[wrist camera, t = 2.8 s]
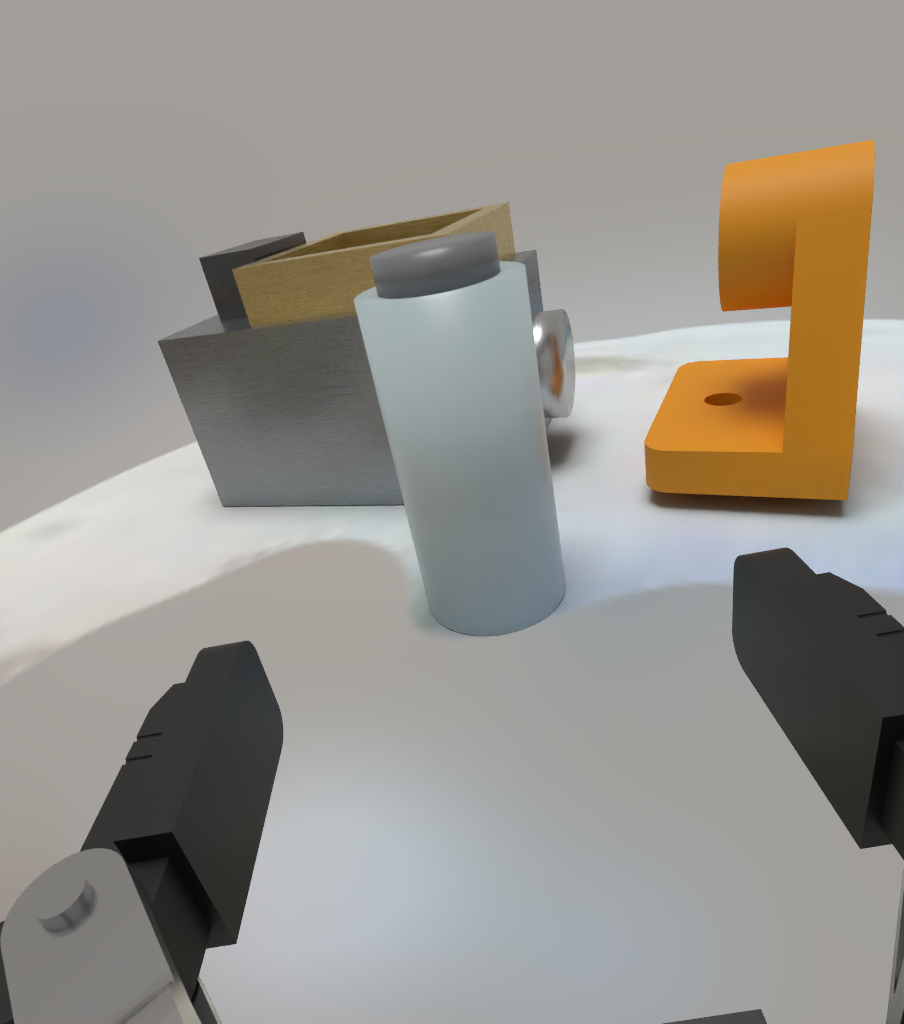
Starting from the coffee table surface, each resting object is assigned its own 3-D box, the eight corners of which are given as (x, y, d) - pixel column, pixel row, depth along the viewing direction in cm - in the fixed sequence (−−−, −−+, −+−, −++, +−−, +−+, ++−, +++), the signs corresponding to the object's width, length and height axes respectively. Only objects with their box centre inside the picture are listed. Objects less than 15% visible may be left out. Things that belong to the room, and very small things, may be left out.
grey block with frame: (589, 409, 38) (568, 179, 32) (555, 503, 29) (518, 208, 23) (319, 425, 44) (262, 235, 39) (223, 506, 35) (131, 275, 30)
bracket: (682, 410, 36) (677, 163, 30) (837, 408, 32) (864, 130, 27) (643, 509, 27) (625, 194, 22) (844, 520, 24) (885, 153, 19)
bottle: (575, 554, 25) (536, 218, 20) (551, 640, 21) (494, 248, 16) (453, 552, 27) (386, 243, 21) (409, 631, 23) (313, 275, 17)
